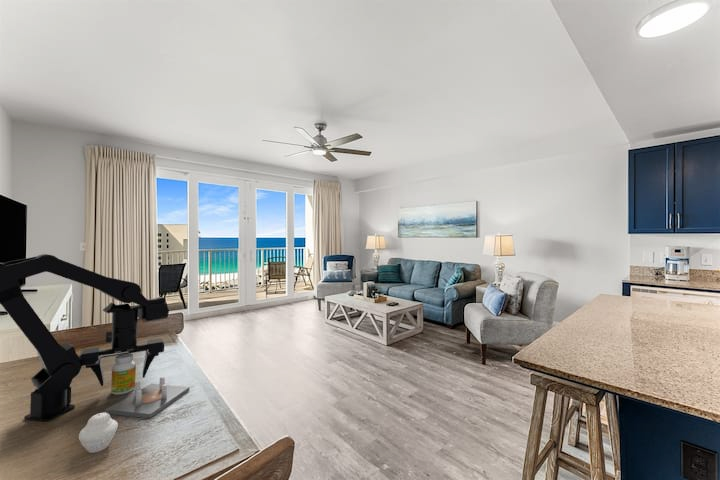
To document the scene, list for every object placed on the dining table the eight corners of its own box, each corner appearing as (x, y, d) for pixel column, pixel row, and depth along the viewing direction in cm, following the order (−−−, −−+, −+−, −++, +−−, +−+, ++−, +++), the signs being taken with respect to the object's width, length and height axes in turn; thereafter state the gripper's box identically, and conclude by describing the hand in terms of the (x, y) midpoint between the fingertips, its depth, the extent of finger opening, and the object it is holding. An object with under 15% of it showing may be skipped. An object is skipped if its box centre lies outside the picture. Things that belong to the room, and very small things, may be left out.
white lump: (85, 462, 59) (86, 425, 59) (73, 450, 63) (74, 415, 63) (123, 444, 65) (123, 411, 65) (110, 434, 68) (110, 402, 68)
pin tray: (150, 418, 74) (150, 399, 74) (105, 413, 76) (106, 395, 76) (189, 390, 88) (189, 374, 88) (151, 387, 90) (151, 371, 90)
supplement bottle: (114, 397, 84) (115, 361, 84) (108, 390, 87) (109, 356, 87) (138, 389, 88) (139, 355, 88) (131, 384, 91) (132, 351, 91)
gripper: (161, 315, 100) (159, 364, 100) (83, 324, 88) (82, 379, 88) (165, 323, 91) (163, 377, 91) (79, 334, 79) (77, 395, 79)
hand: (123, 381), depth 88 cm, fingers open, 9 cm apart
